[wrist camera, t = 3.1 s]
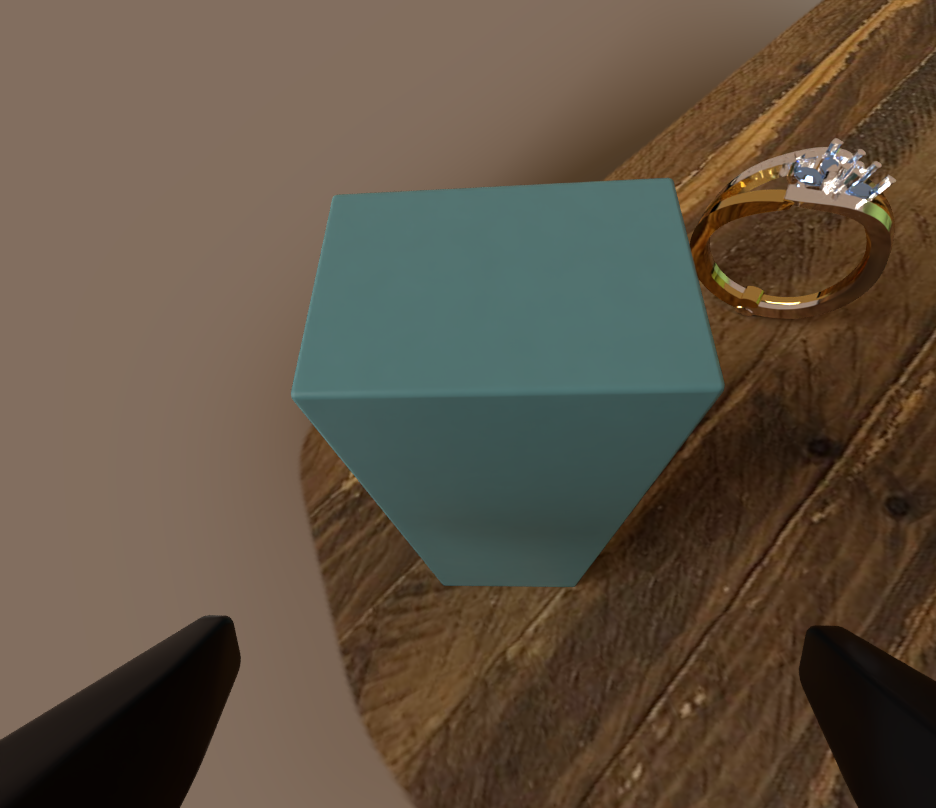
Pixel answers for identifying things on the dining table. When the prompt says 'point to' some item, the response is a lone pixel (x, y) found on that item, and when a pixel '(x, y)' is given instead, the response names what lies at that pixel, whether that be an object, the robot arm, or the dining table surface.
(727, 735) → the dining table surface
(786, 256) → the dining table surface
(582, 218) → the back pad
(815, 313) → the ring
